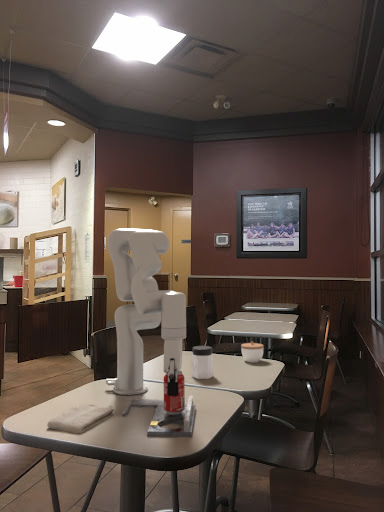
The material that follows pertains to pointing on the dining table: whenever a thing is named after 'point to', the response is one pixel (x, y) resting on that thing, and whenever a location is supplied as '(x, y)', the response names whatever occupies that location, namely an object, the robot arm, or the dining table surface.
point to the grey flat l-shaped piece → (142, 404)
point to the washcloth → (80, 418)
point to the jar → (202, 362)
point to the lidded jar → (252, 351)
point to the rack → (173, 421)
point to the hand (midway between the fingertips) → (174, 391)
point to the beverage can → (174, 403)
